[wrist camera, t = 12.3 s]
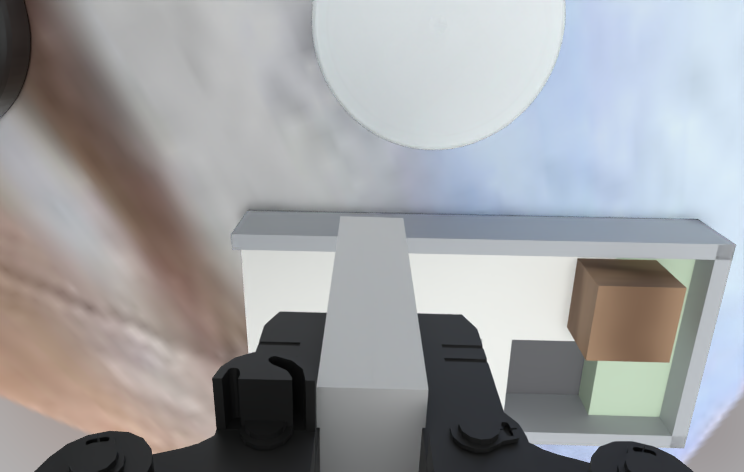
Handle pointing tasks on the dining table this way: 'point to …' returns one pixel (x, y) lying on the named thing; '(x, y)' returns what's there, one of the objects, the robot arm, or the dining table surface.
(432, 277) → the box
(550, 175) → the dining table surface
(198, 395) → the dining table surface
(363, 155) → the dining table surface
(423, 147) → the supplement tub
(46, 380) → the dining table surface
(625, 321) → the walnut block
